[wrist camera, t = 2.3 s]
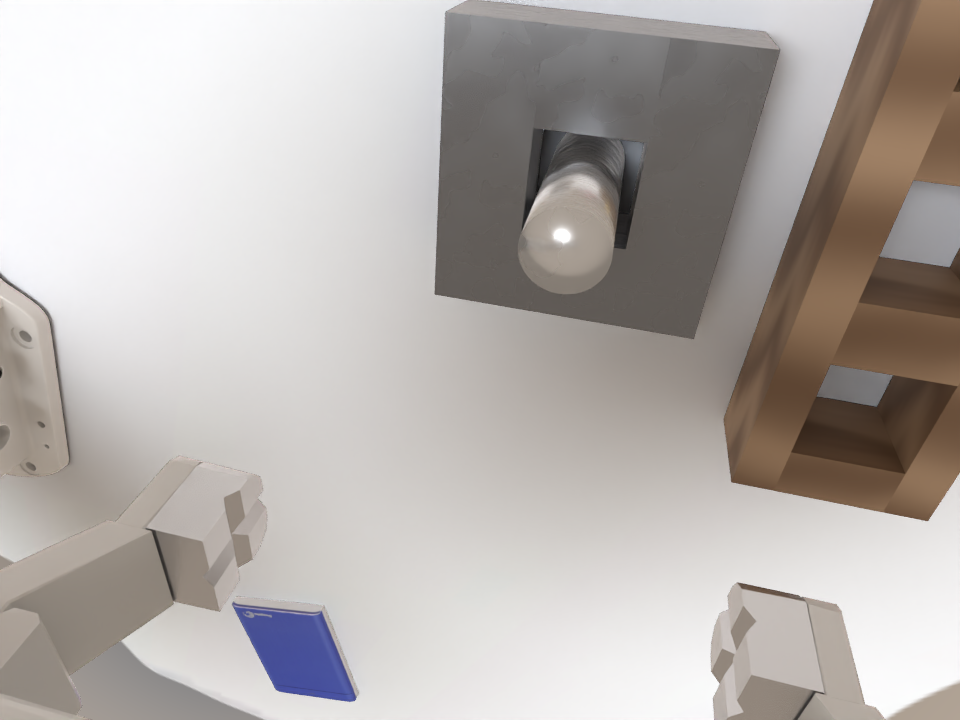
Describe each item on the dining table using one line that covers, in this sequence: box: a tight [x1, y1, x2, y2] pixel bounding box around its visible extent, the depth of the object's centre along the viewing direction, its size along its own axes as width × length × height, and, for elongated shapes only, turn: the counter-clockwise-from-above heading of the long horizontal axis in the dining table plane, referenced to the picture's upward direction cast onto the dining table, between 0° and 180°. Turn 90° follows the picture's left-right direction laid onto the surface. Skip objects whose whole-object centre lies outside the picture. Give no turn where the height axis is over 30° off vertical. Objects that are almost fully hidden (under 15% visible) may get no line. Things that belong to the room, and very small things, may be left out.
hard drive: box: [232, 596, 359, 702], centre depth 60 cm, size 2×8×12 cm
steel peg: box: [518, 133, 625, 294], centre depth 27 cm, size 3×3×10 cm
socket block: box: [435, 0, 780, 339], centre depth 29 cm, size 12×12×4 cm
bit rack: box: [724, 0, 960, 521], centre depth 27 cm, size 26×9×5 cm, turn 176°
